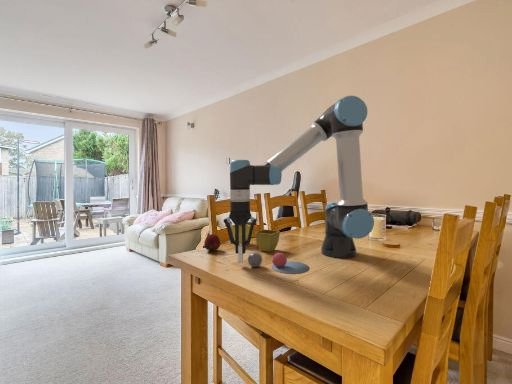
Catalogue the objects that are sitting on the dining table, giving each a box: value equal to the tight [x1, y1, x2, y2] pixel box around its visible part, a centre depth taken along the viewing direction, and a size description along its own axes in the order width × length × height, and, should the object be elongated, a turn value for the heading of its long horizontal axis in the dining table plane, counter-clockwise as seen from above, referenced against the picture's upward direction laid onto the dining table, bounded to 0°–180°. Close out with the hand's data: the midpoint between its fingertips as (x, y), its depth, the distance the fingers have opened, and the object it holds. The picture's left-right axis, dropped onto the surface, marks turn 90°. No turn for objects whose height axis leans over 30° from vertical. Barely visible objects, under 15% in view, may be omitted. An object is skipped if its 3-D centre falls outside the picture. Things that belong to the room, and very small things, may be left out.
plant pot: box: [230, 224, 251, 246], centre depth 137 cm, size 10×10×10 cm
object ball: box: [271, 252, 288, 267], centre depth 101 cm, size 6×6×6 cm
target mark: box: [271, 260, 310, 275], centre depth 101 cm, size 14×14×1 cm
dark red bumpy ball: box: [203, 233, 221, 252], centre depth 125 cm, size 7×8×8 cm
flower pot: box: [254, 229, 280, 253], centre depth 126 cm, size 9×9×9 cm
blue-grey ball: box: [247, 251, 263, 268], centre depth 102 cm, size 6×6×6 cm
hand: (240, 261), depth 102 cm, fingers closed
